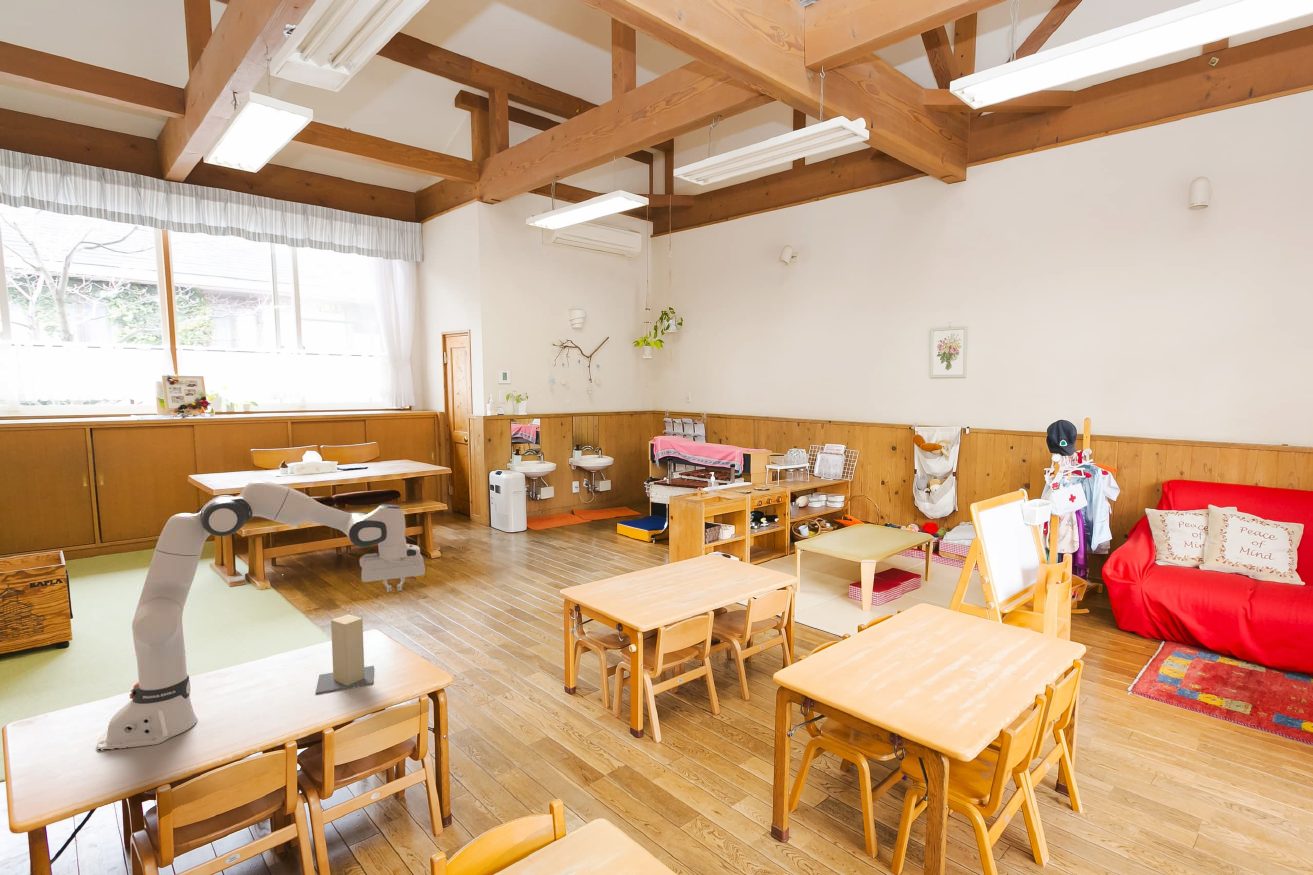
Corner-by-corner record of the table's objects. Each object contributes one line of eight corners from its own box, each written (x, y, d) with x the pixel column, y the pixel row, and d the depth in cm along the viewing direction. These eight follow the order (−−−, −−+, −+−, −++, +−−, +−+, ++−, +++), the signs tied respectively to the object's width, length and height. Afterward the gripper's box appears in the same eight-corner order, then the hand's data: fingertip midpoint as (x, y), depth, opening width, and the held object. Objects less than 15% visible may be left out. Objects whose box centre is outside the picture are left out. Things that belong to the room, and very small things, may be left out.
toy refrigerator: (367, 677, 215) (364, 617, 213) (347, 686, 209) (343, 624, 207) (353, 672, 219) (350, 613, 218) (333, 680, 213) (329, 619, 212)
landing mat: (315, 694, 205) (315, 692, 205) (319, 676, 218) (319, 674, 218) (372, 684, 212) (372, 682, 211) (373, 667, 224) (373, 665, 224)
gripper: (358, 557, 210) (360, 597, 211) (424, 550, 218) (426, 589, 219) (359, 552, 215) (361, 592, 217) (423, 545, 223) (425, 584, 225)
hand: (394, 590), depth 218 cm, fingers closed
